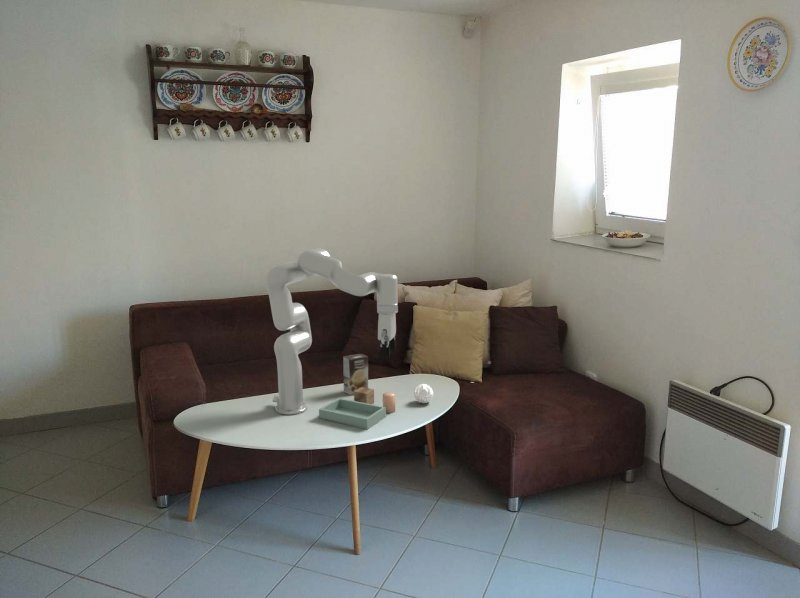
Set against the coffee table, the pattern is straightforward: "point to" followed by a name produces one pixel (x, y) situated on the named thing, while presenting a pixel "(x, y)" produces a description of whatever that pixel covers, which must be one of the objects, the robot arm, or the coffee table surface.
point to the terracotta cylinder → (389, 402)
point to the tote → (352, 413)
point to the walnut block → (364, 395)
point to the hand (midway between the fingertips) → (388, 353)
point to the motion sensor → (423, 393)
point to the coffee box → (355, 372)
